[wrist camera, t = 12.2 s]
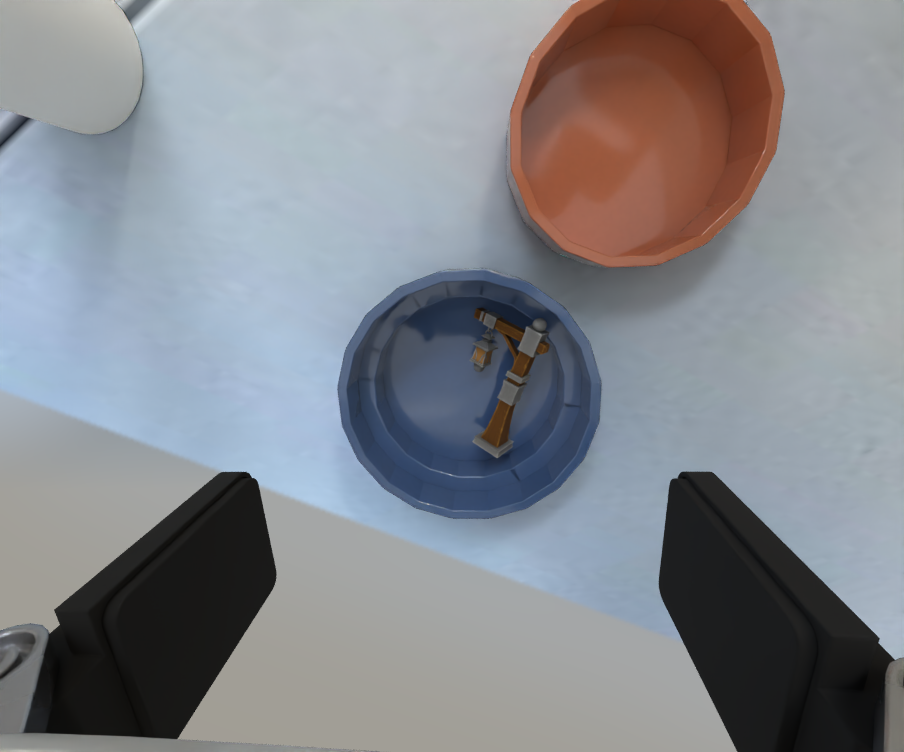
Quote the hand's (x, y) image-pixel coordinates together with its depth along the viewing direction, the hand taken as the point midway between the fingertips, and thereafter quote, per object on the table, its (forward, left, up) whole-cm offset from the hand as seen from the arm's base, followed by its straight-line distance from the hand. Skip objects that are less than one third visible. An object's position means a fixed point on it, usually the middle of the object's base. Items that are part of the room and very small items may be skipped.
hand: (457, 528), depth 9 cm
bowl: (0, +1, -16) cm, 16 cm away
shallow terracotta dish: (-8, -11, -16) cm, 21 cm away
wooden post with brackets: (0, +1, -15) cm, 15 cm away
